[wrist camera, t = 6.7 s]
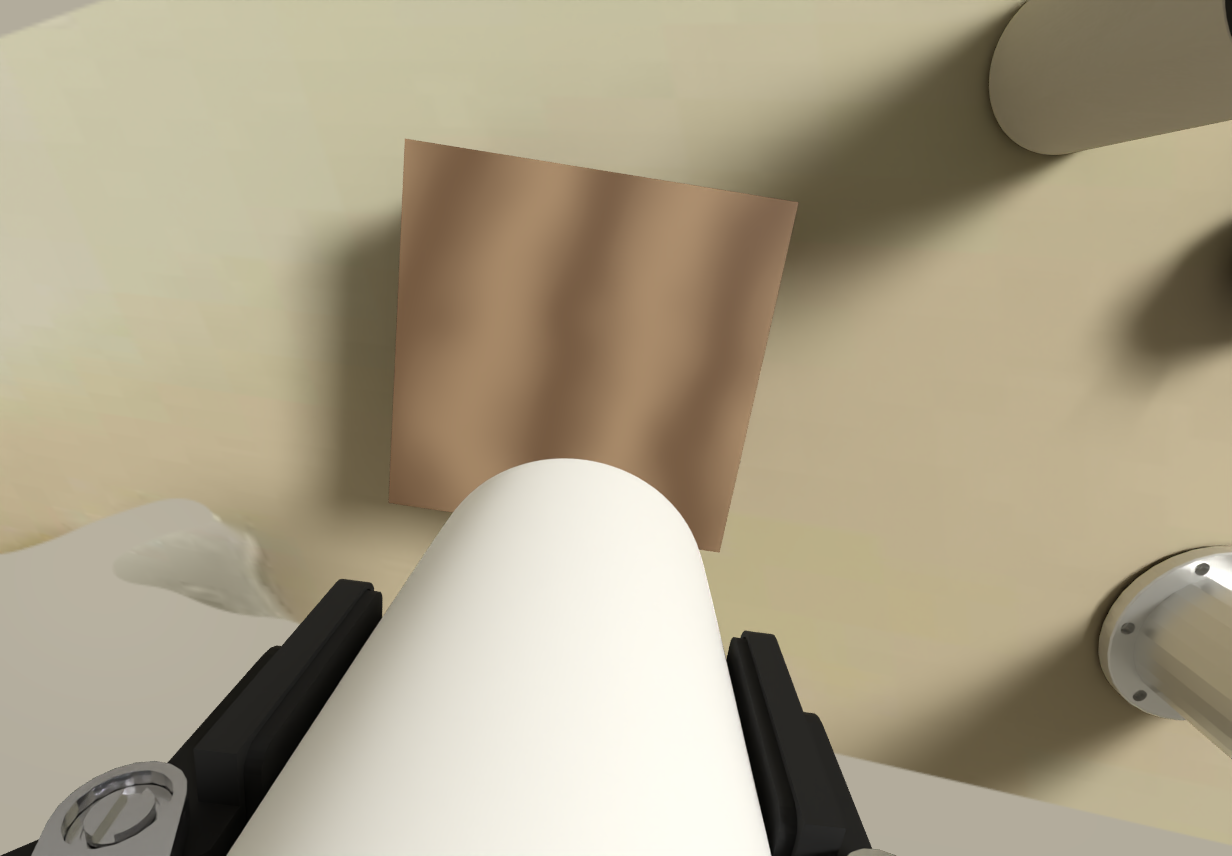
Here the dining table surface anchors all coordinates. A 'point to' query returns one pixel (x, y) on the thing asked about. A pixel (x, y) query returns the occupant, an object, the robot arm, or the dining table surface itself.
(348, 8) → the dining table surface
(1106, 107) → the travel mug
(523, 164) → the small wooden table
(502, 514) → the can
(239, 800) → the robot arm
